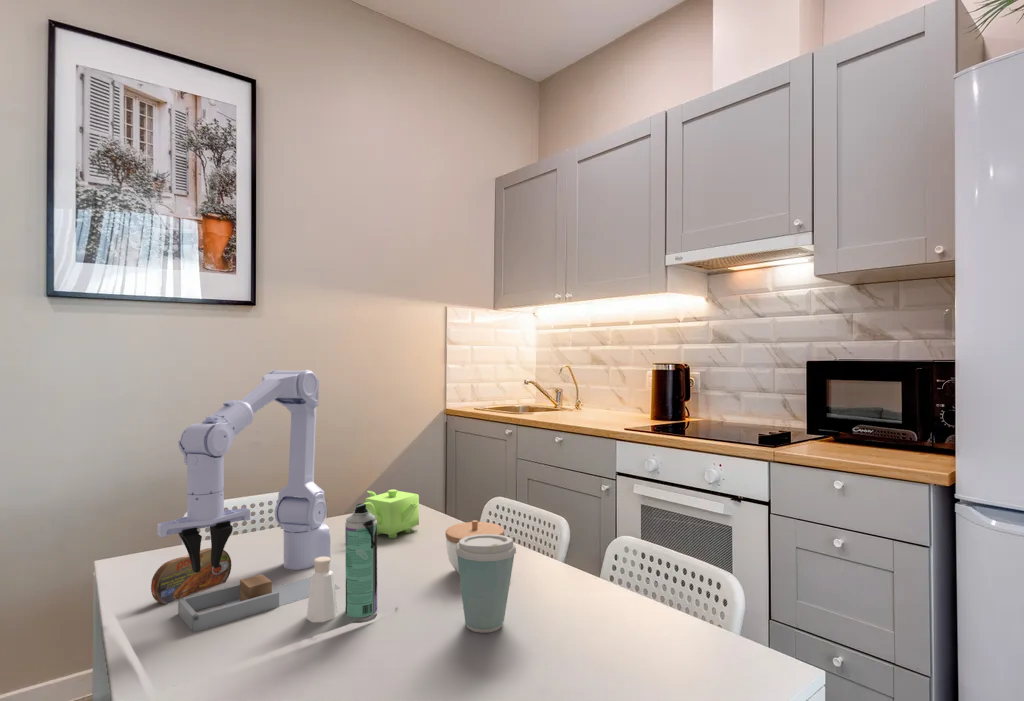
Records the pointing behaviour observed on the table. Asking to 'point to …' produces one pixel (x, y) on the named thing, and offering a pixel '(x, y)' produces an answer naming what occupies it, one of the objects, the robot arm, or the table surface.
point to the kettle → (394, 511)
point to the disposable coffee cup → (485, 579)
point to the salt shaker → (322, 592)
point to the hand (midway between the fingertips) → (205, 568)
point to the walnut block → (254, 587)
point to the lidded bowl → (466, 530)
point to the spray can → (361, 564)
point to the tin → (188, 576)
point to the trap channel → (237, 603)
